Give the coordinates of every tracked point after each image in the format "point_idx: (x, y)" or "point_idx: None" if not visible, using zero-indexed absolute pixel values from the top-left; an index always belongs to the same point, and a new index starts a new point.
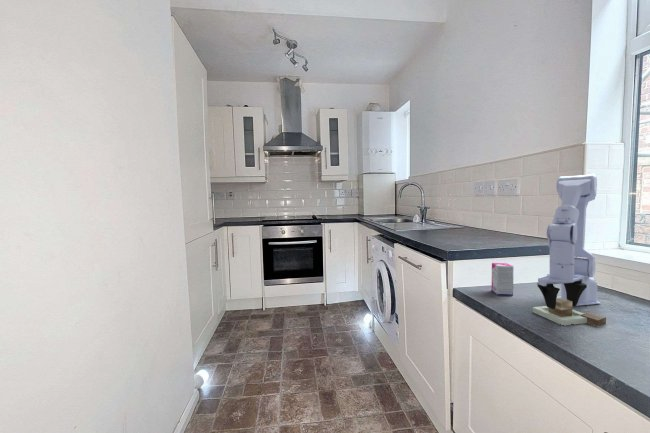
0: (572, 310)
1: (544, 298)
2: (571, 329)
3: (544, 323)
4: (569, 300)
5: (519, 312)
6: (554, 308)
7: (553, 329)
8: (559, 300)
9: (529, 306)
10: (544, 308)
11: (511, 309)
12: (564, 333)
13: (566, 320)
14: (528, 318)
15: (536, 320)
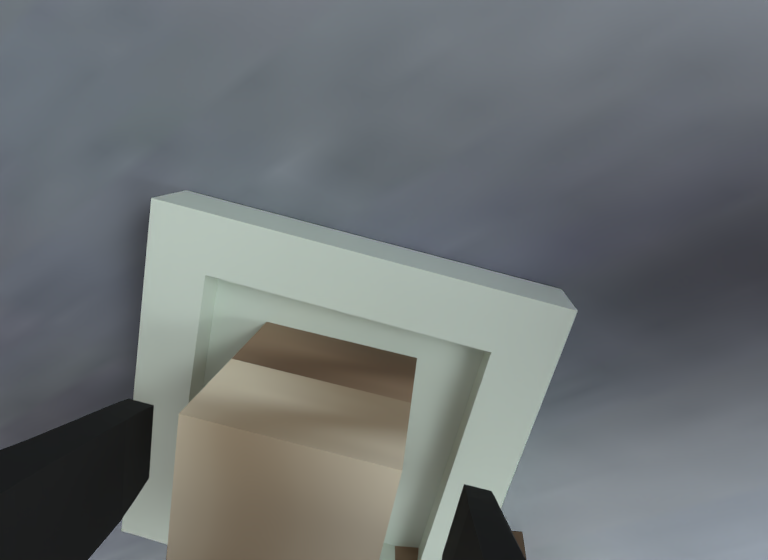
0: (477, 472)
1: (14, 449)
2: (152, 548)
3: (54, 403)
4: (464, 552)
5: (41, 126)
6: (138, 482)
7: None
8: (246, 534)
9: (326, 39)
10: (256, 287)
11: (23, 10)
12: None
13: (164, 537)
14: (7, 275)
15: (41, 336)
